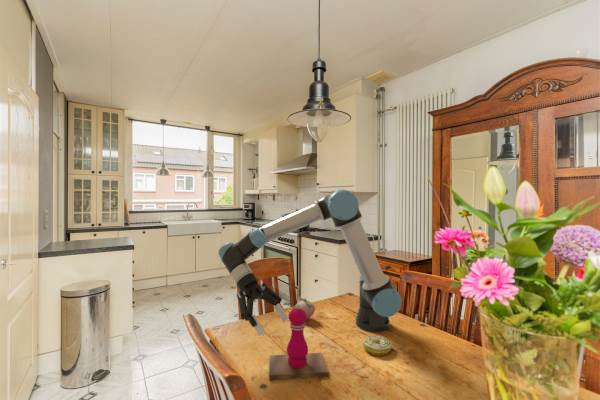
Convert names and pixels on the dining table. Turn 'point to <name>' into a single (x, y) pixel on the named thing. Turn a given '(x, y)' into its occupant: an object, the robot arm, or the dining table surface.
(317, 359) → the walnut stand
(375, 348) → the decorated donut
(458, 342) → the dining table surface
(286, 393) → the dining table surface
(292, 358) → the pepper mill
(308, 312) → the decorative fruit
